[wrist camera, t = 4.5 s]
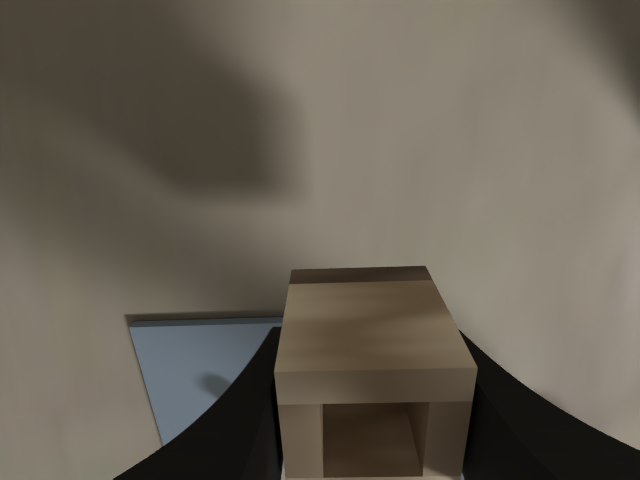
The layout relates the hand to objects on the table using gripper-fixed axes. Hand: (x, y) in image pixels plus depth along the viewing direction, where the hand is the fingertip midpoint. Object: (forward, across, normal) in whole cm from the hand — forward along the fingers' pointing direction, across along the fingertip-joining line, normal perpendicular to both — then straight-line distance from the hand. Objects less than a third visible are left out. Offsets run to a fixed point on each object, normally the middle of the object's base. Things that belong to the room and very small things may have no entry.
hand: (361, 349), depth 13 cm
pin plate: (+8, +7, +10) cm, 15 cm away
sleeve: (+1, 0, 0) cm, 1 cm away
